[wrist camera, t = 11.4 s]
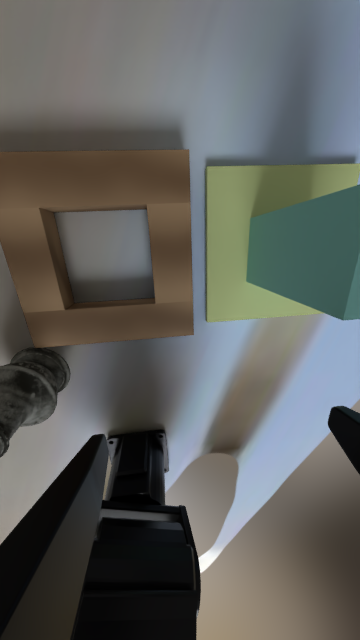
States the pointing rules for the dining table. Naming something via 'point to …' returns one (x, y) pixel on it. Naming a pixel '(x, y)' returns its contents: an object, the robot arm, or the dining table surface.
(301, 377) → the dining table surface
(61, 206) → the frame
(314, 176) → the olive mat
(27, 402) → the dark grey upright piece
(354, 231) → the teal peg
